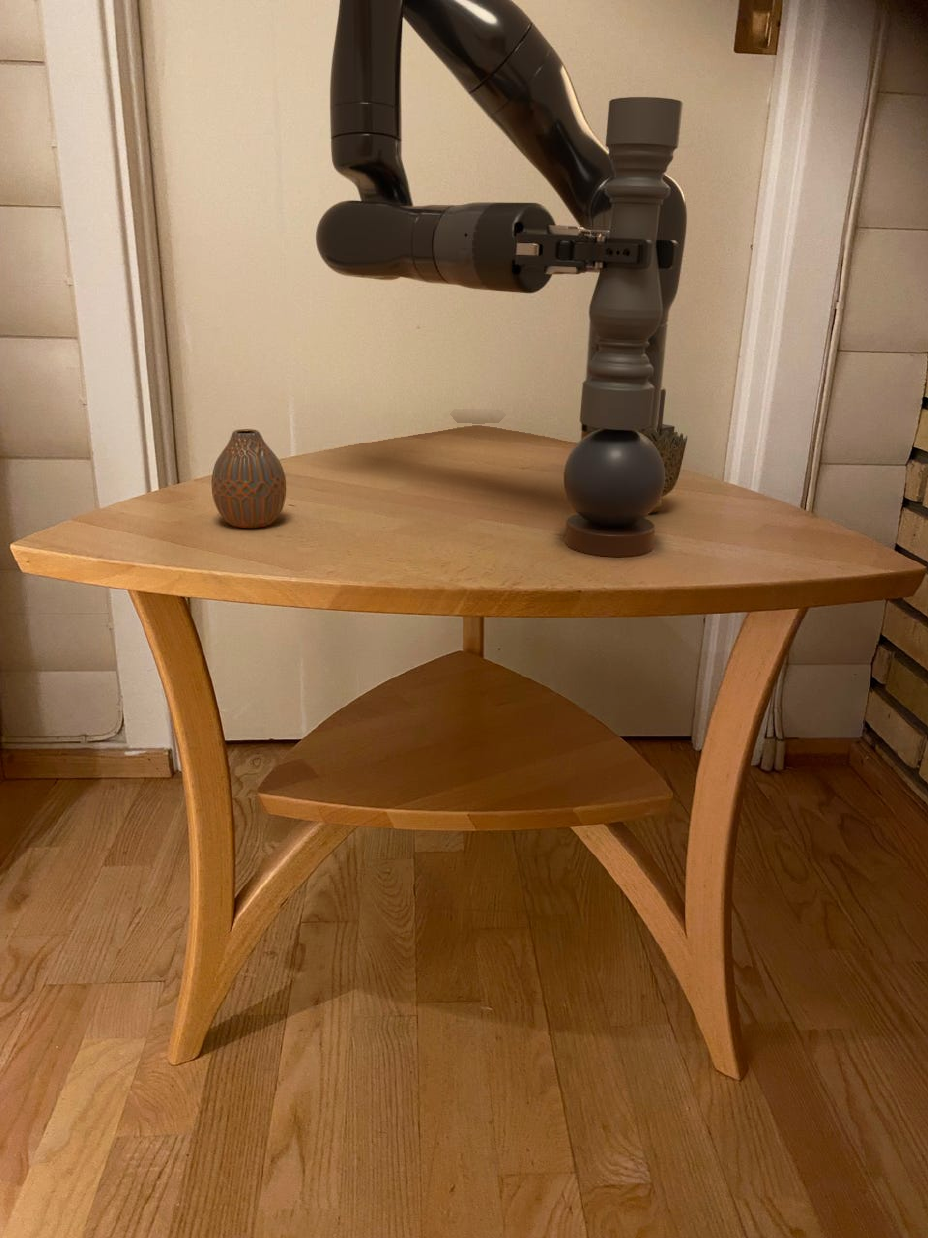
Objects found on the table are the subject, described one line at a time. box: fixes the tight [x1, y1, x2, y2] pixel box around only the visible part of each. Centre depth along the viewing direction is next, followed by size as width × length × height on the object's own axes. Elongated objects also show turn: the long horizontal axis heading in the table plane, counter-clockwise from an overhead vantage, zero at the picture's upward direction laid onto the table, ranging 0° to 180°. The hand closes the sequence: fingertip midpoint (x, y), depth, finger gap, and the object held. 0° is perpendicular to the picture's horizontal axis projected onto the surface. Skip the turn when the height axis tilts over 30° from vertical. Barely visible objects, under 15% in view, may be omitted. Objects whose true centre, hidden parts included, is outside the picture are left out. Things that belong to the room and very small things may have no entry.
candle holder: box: [579, 96, 684, 430], centre depth 80 cm, size 6×6×25 cm
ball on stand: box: [563, 428, 665, 558], centre depth 86 cm, size 9×9×11 cm
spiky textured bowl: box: [635, 428, 688, 514], centre depth 98 cm, size 8×7×8 cm
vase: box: [210, 428, 287, 529], centre depth 90 cm, size 7×7×9 cm
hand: (661, 254), depth 77 cm, fingers closed on candle holder, 3 cm apart
